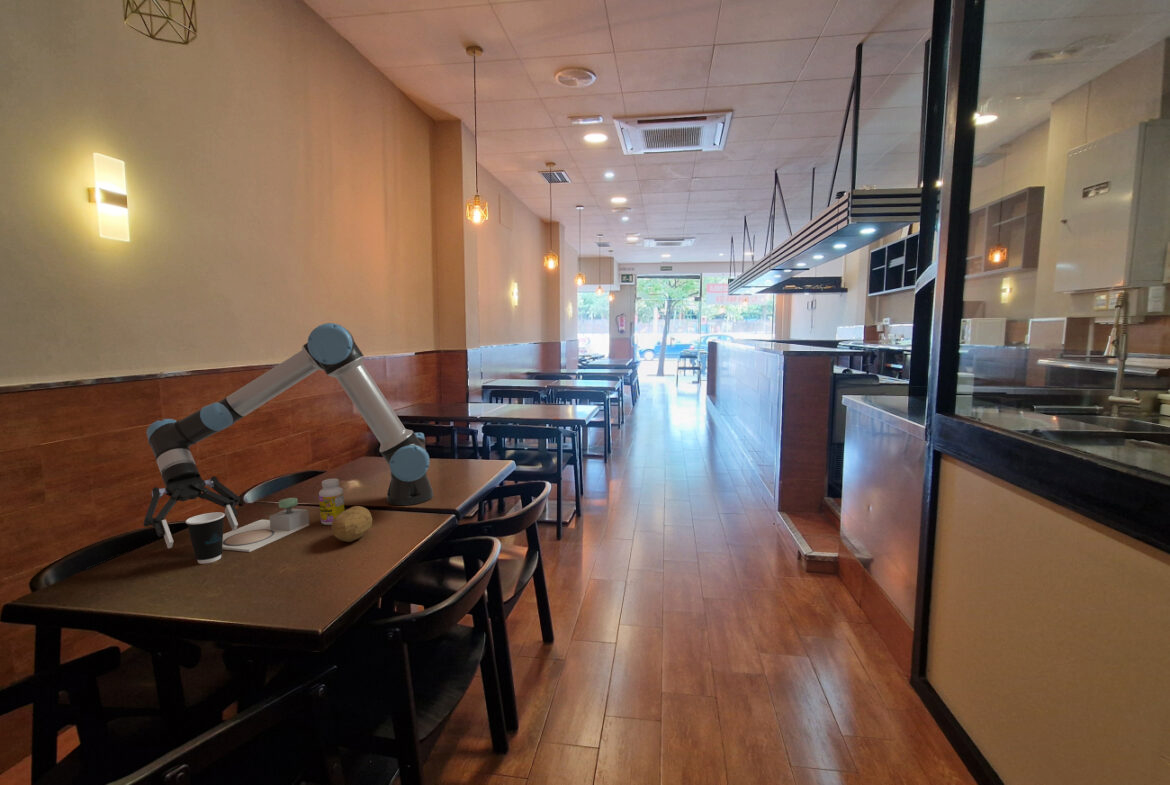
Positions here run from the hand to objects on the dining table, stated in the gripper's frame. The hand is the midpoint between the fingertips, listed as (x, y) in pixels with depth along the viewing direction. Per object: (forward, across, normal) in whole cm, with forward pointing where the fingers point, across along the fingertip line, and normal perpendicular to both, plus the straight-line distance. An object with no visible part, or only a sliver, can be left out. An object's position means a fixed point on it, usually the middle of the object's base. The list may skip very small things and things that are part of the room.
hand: (204, 536), depth 127 cm
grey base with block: (-1, -14, -10) cm, 18 cm away
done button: (-2, -23, -7) cm, 24 cm away
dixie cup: (+5, 0, -4) cm, 6 cm away
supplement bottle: (+4, -32, -5) cm, 33 cm away
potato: (+18, -28, +9) cm, 34 cm away
